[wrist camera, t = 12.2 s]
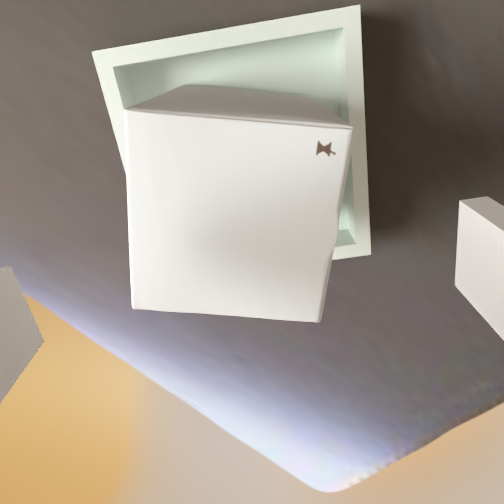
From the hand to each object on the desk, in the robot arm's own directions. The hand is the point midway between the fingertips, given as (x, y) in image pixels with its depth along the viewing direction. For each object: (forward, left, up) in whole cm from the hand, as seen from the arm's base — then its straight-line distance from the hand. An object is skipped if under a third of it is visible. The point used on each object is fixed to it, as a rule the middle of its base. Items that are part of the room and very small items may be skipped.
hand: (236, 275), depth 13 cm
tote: (0, 0, -21) cm, 21 cm away
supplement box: (0, 0, -20) cm, 20 cm away
